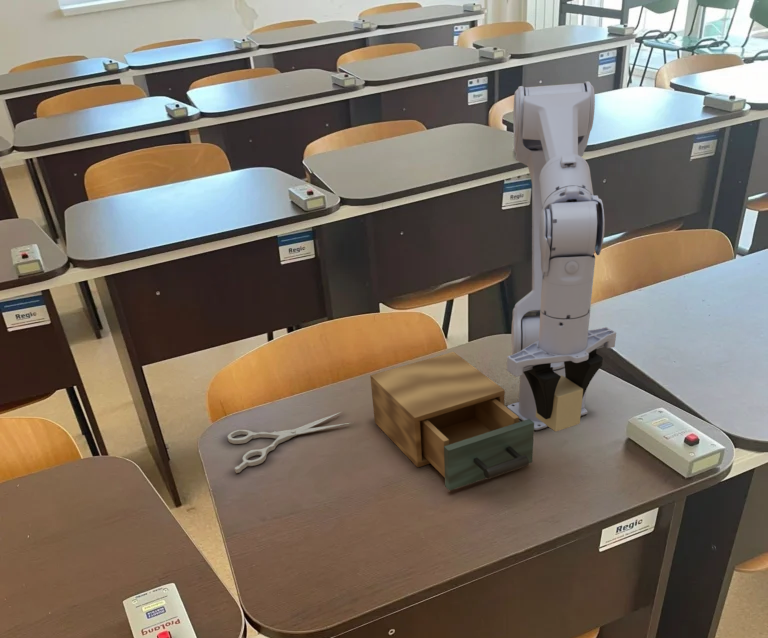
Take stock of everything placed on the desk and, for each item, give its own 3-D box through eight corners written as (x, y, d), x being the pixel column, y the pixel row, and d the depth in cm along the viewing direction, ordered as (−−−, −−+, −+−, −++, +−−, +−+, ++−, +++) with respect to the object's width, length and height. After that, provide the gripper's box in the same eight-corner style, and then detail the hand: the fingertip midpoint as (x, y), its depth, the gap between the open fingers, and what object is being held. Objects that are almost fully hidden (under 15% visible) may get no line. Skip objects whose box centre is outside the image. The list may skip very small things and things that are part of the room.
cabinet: (503, 439, 110) (504, 390, 105) (417, 467, 106) (414, 417, 101) (454, 398, 121) (453, 351, 116) (374, 422, 117) (370, 375, 112)
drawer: (550, 477, 100) (553, 437, 96) (465, 507, 96) (464, 466, 93) (481, 419, 113) (481, 381, 109) (404, 443, 109) (401, 405, 106)
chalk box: (559, 409, 100) (562, 374, 97) (580, 423, 96) (583, 388, 93) (535, 417, 99) (537, 382, 96) (555, 432, 95) (558, 397, 92)
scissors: (216, 436, 115) (336, 400, 121) (217, 440, 116) (337, 404, 122) (235, 469, 107) (363, 429, 113) (236, 474, 108) (363, 433, 114)
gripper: (532, 336, 83) (527, 441, 91) (637, 305, 88) (624, 408, 96) (498, 315, 88) (496, 416, 97) (599, 287, 93) (589, 386, 101)
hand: (557, 410), depth 97 cm, fingers closed on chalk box, 4 cm apart
